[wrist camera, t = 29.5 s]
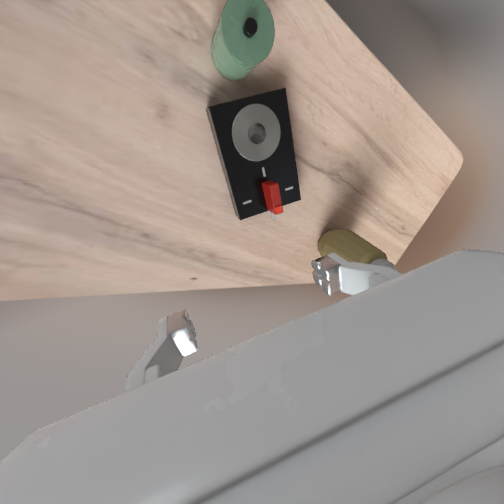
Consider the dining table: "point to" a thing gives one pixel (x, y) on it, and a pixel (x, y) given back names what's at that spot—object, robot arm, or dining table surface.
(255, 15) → the saucepan
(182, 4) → the dining table surface
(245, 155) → the burner
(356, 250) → the squeeze bottle
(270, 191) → the knob
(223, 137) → the hob
